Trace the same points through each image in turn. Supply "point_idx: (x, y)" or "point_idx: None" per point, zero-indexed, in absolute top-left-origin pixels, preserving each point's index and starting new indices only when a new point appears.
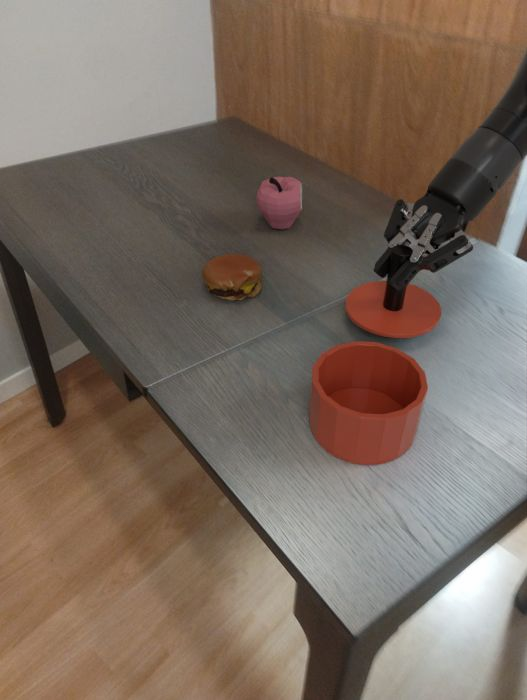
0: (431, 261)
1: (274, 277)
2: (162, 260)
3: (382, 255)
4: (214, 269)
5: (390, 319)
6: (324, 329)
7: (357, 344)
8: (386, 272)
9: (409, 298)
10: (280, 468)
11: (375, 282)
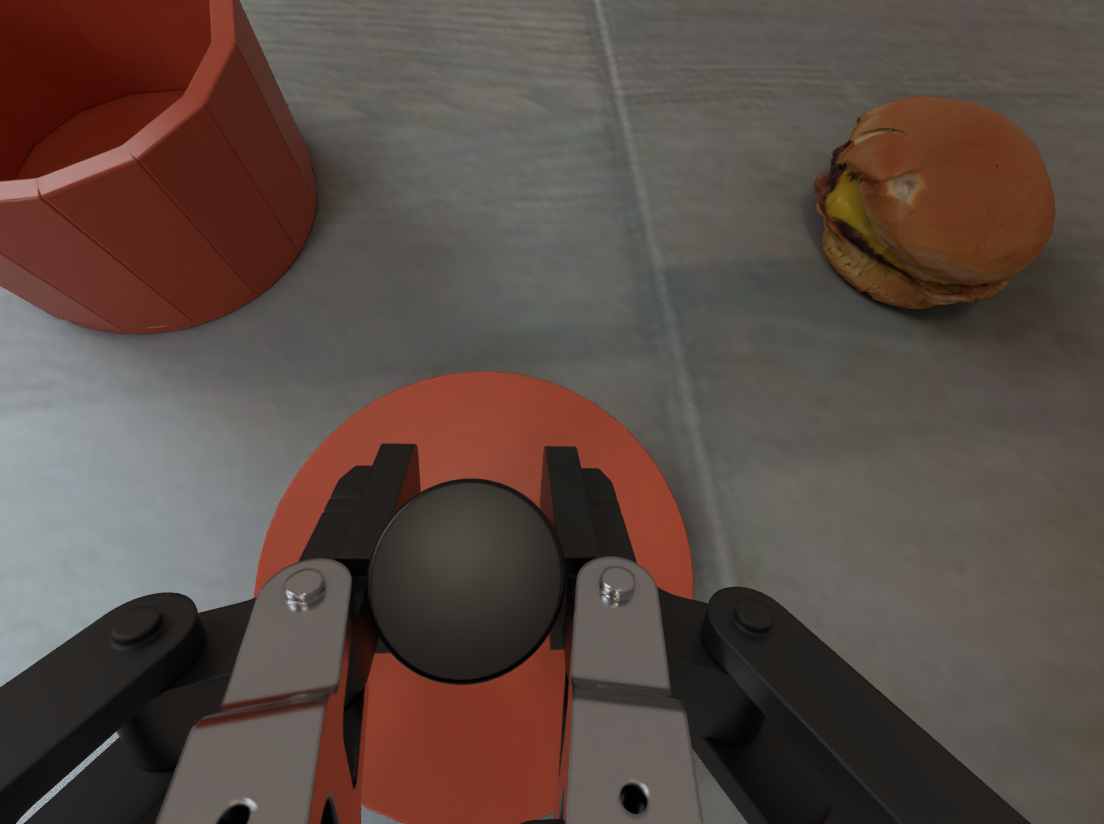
0: (67, 647)
1: (918, 367)
2: (1097, 138)
3: (619, 521)
4: (953, 105)
5: None
6: (573, 347)
7: (181, 98)
8: None
9: (490, 689)
10: None
11: None
